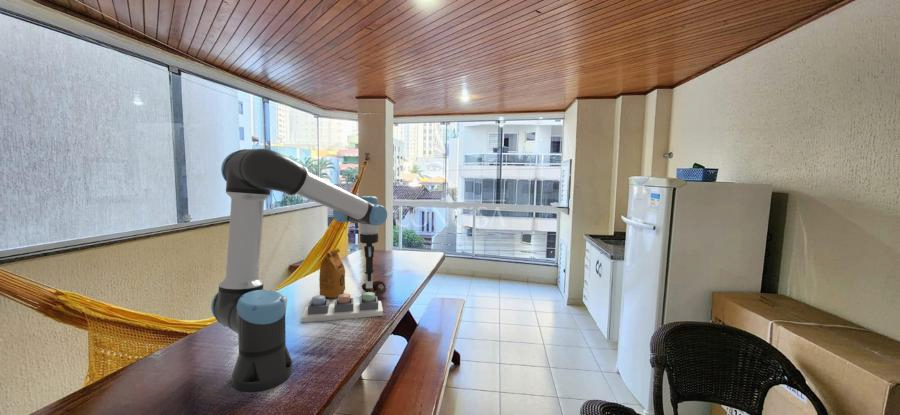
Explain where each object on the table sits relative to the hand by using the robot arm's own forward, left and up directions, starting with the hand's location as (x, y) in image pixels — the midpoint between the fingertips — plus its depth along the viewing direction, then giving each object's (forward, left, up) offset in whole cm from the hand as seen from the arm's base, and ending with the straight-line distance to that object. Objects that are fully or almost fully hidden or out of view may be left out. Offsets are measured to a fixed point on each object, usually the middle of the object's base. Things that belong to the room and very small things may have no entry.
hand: (369, 287), depth 144 cm
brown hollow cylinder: (+14, +14, -11) cm, 22 cm away
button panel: (-8, +6, -10) cm, 14 cm away
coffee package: (+1, +29, -11) cm, 31 cm away
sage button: (0, 0, -6) cm, 6 cm away
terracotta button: (-8, +6, -6) cm, 12 cm away
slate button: (-17, +11, -6) cm, 21 cm away
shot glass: (-27, +24, -10) cm, 38 cm away
